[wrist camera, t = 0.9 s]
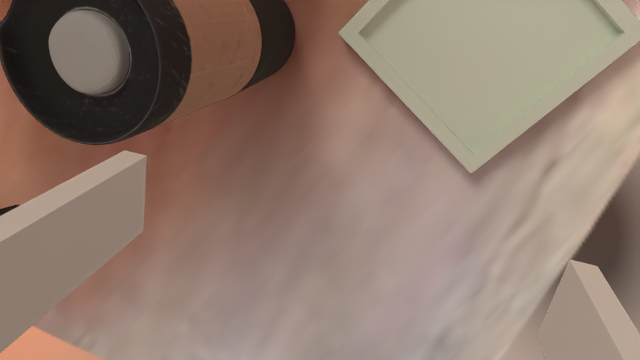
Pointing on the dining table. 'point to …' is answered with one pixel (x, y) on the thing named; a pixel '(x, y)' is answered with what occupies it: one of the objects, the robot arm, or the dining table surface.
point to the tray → (488, 61)
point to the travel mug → (136, 59)
